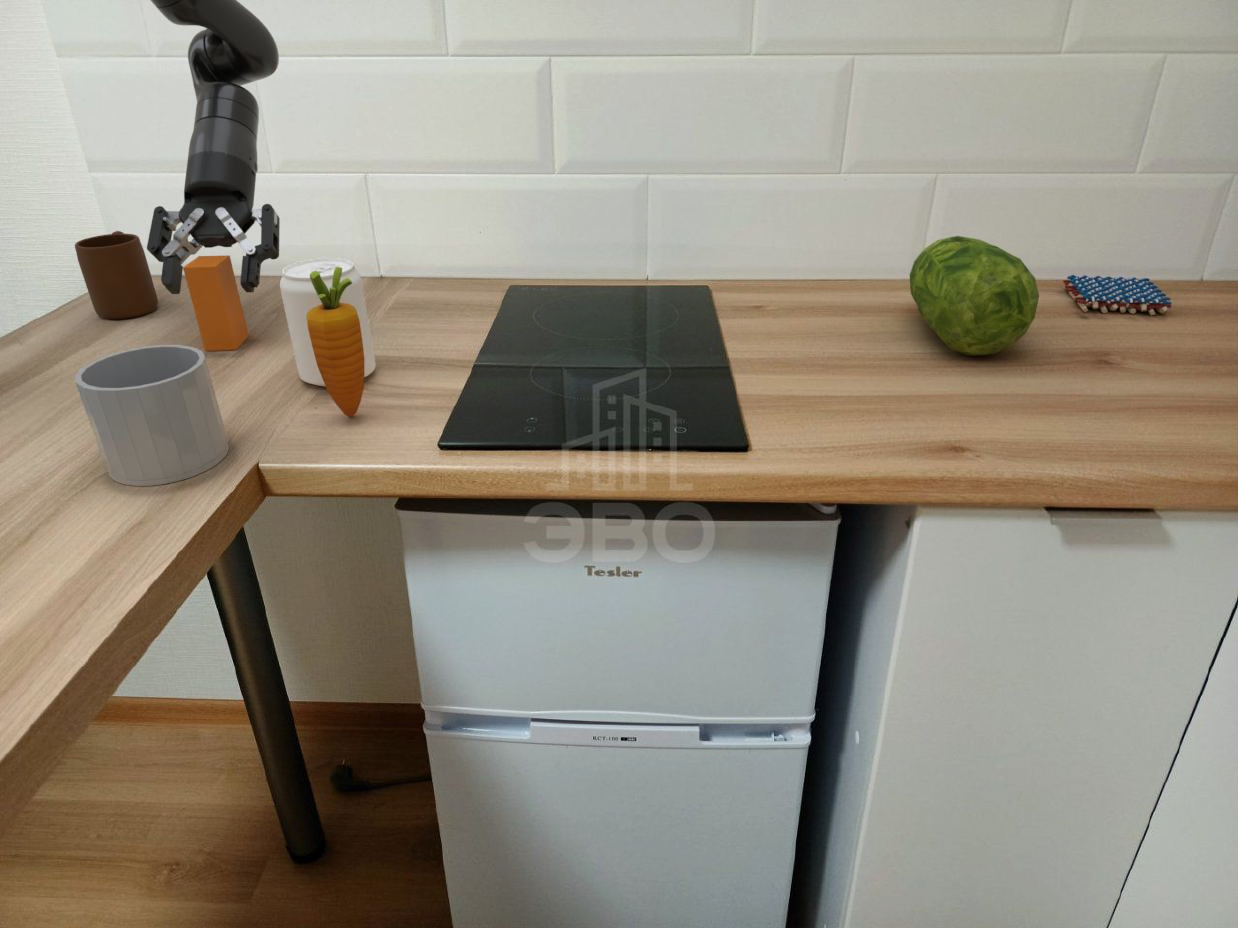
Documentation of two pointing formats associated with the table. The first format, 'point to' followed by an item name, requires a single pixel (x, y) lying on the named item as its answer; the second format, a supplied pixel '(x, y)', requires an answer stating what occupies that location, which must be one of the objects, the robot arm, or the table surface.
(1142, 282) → the woven mat
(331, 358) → the carrot
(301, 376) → the beverage can
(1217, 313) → the table surface
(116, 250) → the mug
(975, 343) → the lettuce
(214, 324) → the orange rectangular prism
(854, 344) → the table surface
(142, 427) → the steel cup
